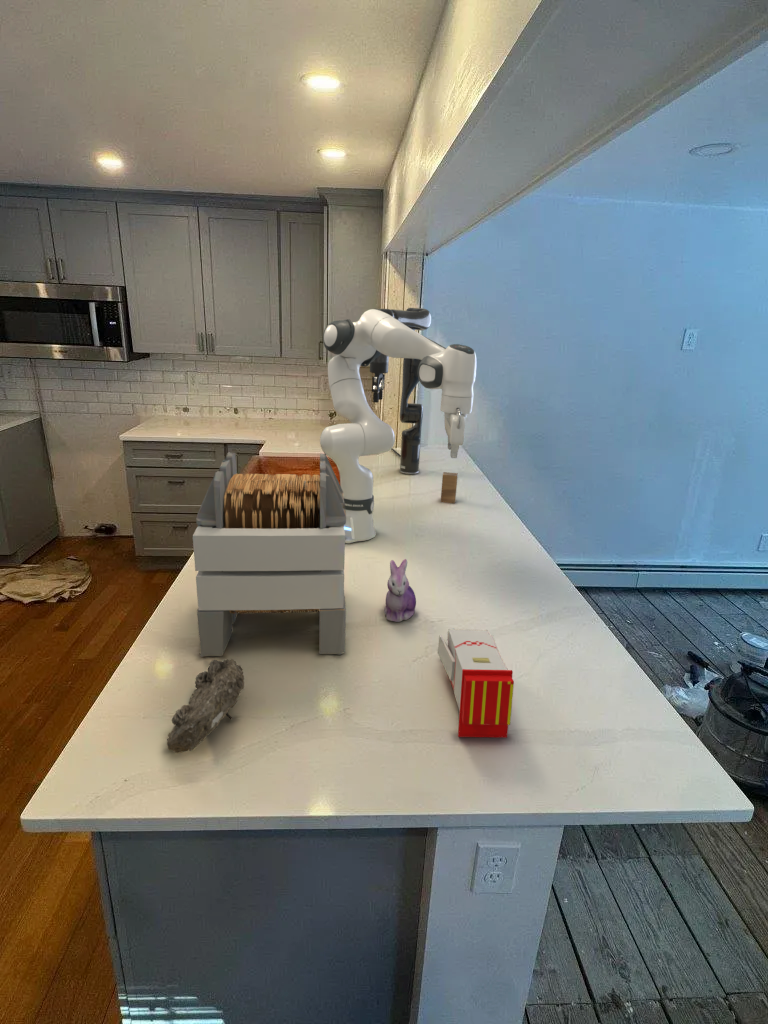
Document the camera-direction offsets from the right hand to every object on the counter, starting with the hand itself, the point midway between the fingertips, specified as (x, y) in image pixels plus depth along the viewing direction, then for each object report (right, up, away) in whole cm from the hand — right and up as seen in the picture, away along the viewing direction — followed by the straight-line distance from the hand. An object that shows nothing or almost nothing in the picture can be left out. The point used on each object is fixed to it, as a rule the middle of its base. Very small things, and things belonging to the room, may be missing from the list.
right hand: (377, 400), depth 235 cm
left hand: (+22, -29, -71) cm, 80 cm away
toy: (+20, -84, -117) cm, 145 cm away
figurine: (+7, -73, -88) cm, 114 cm away
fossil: (-30, -85, -127) cm, 156 cm away
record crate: (-24, -73, -93) cm, 120 cm away
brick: (+29, -42, +1) cm, 51 cm away
